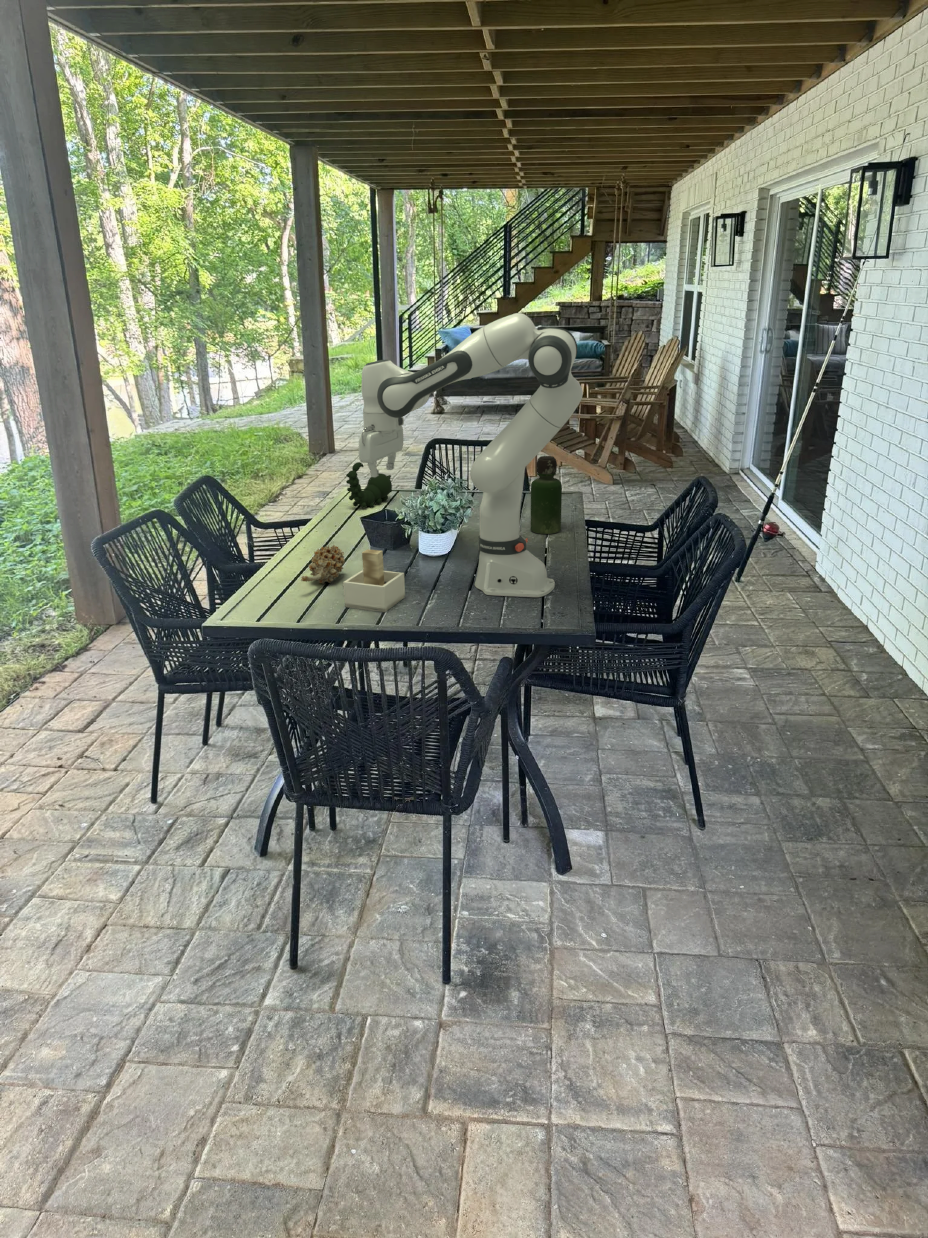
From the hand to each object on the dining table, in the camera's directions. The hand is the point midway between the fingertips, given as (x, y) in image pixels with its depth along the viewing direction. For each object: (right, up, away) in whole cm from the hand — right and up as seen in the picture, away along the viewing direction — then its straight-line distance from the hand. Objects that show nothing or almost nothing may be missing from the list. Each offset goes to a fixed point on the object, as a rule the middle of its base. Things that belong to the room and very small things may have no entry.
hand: (382, 473), depth 238 cm
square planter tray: (-1, -36, -6) cm, 36 cm away
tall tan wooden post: (-2, -35, -6) cm, 35 cm away
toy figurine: (-13, +4, +94) cm, 95 cm away
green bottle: (+50, -10, +56) cm, 76 cm away
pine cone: (-18, -31, +9) cm, 36 cm away
